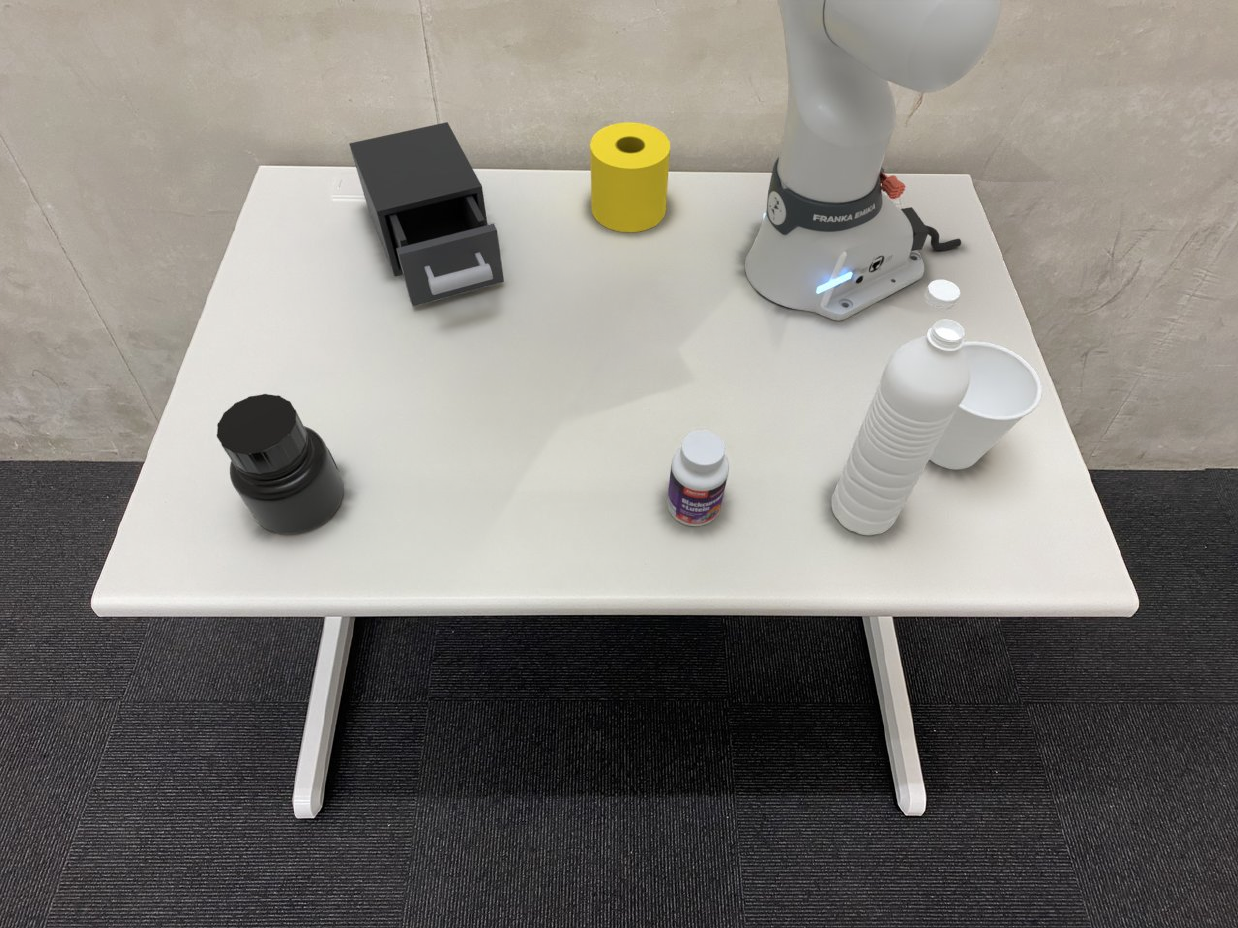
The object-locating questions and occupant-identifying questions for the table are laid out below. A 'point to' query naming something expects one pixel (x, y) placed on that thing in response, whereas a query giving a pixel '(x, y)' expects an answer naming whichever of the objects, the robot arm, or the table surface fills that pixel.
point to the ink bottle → (279, 465)
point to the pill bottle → (698, 478)
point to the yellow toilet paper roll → (629, 176)
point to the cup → (987, 404)
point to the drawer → (445, 249)
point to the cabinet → (412, 176)
